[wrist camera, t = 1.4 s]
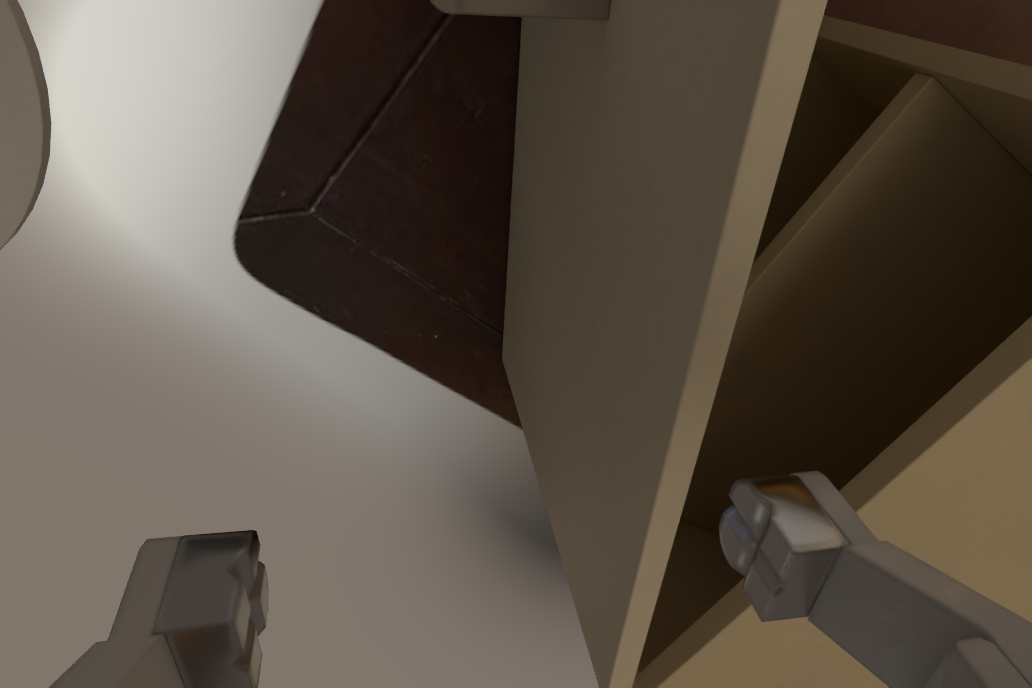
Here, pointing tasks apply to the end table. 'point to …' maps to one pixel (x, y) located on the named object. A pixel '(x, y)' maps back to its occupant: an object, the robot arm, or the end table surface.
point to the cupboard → (873, 351)
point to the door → (634, 263)
